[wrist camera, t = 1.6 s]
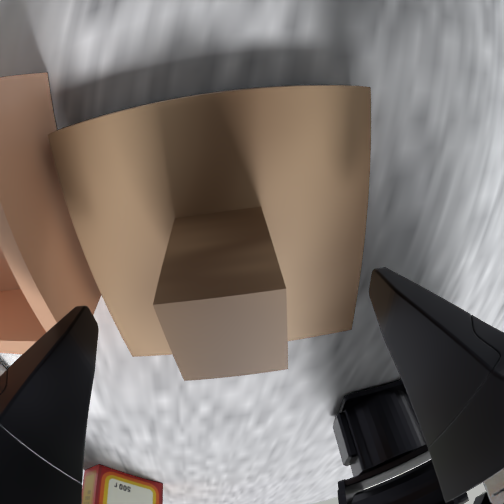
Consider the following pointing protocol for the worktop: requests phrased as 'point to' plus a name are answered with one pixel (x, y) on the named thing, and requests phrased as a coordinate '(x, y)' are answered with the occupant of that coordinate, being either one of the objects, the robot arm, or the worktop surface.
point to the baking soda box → (118, 488)
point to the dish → (35, 222)
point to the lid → (224, 220)
